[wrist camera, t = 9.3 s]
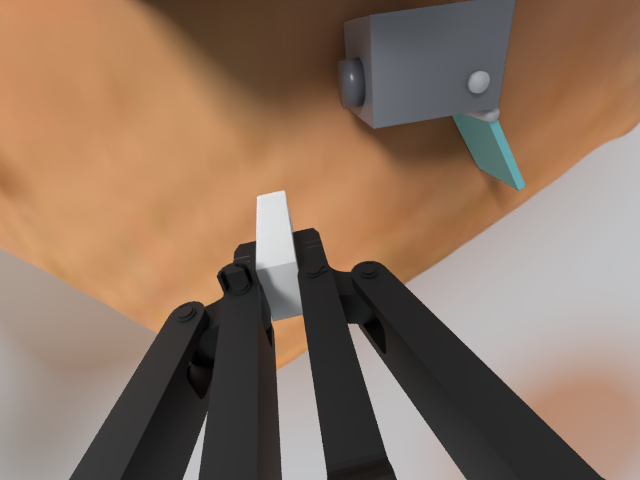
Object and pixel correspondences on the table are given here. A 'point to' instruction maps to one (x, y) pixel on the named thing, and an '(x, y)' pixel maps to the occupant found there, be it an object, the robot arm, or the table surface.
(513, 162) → the teal flat slab
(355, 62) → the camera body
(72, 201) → the table surface
